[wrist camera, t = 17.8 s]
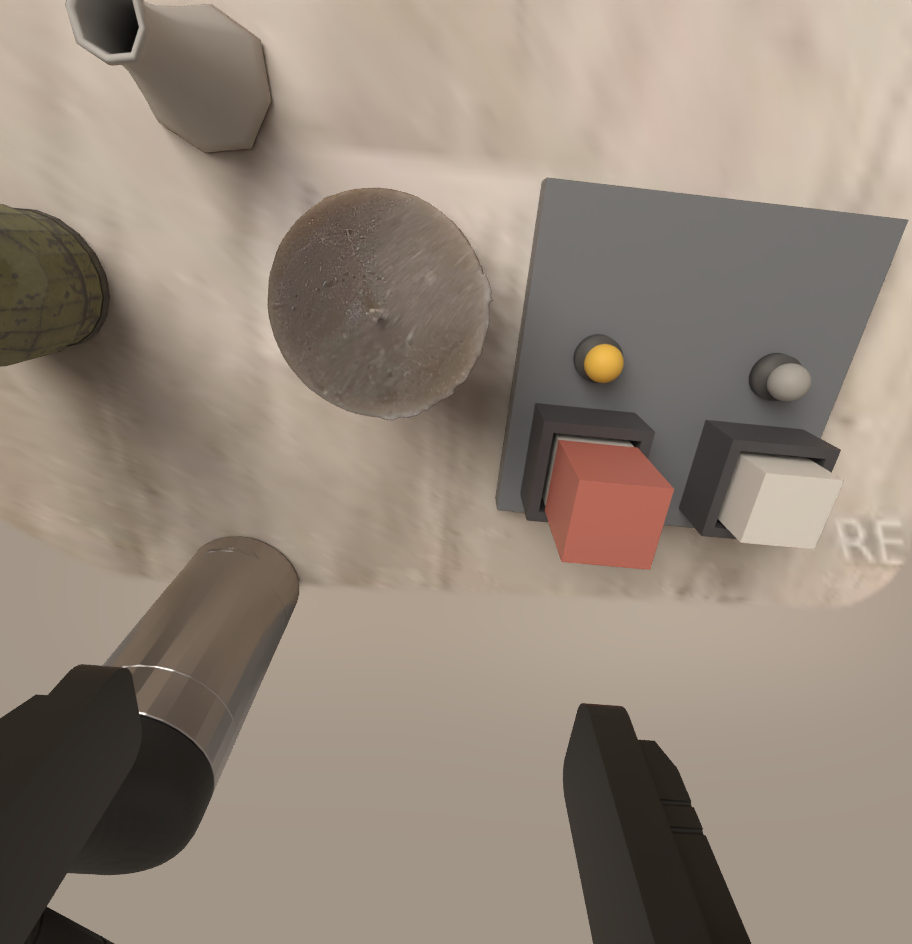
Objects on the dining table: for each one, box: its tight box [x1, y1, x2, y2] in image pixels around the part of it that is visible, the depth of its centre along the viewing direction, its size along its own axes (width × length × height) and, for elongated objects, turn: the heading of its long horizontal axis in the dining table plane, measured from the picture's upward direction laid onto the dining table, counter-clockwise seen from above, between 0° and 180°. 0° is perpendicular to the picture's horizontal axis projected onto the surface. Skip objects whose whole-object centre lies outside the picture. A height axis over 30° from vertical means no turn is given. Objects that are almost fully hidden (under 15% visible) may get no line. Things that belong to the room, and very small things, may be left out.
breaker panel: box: [495, 178, 908, 539], centre depth 35 cm, size 22×22×6 cm
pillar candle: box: [268, 188, 493, 420], centre depth 28 cm, size 10×10×15 cm
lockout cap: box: [545, 440, 674, 570], centre depth 31 cm, size 5×5×6 cm
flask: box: [65, 0, 271, 153], centre depth 26 cm, size 7×7×10 cm
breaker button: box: [718, 451, 844, 549], centre depth 34 cm, size 5×5×4 cm
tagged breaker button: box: [542, 433, 634, 506], centre depth 36 cm, size 5×5×4 cm
